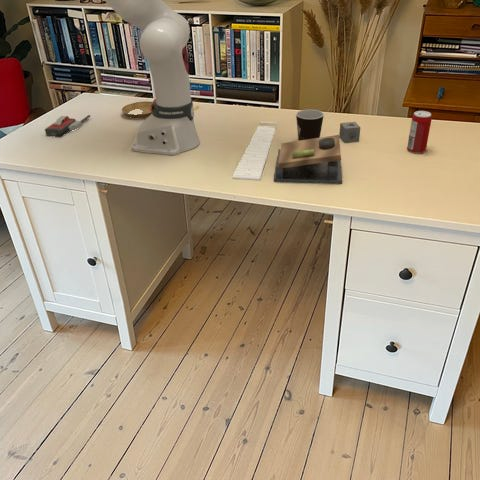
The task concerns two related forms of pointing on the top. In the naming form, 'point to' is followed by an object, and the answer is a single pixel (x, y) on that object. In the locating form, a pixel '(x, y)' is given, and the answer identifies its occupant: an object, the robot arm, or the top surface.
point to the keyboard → (255, 154)
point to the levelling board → (308, 146)
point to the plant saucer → (138, 105)
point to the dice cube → (349, 132)
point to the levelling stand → (310, 173)
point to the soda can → (419, 132)
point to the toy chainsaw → (64, 126)
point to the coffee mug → (309, 124)
